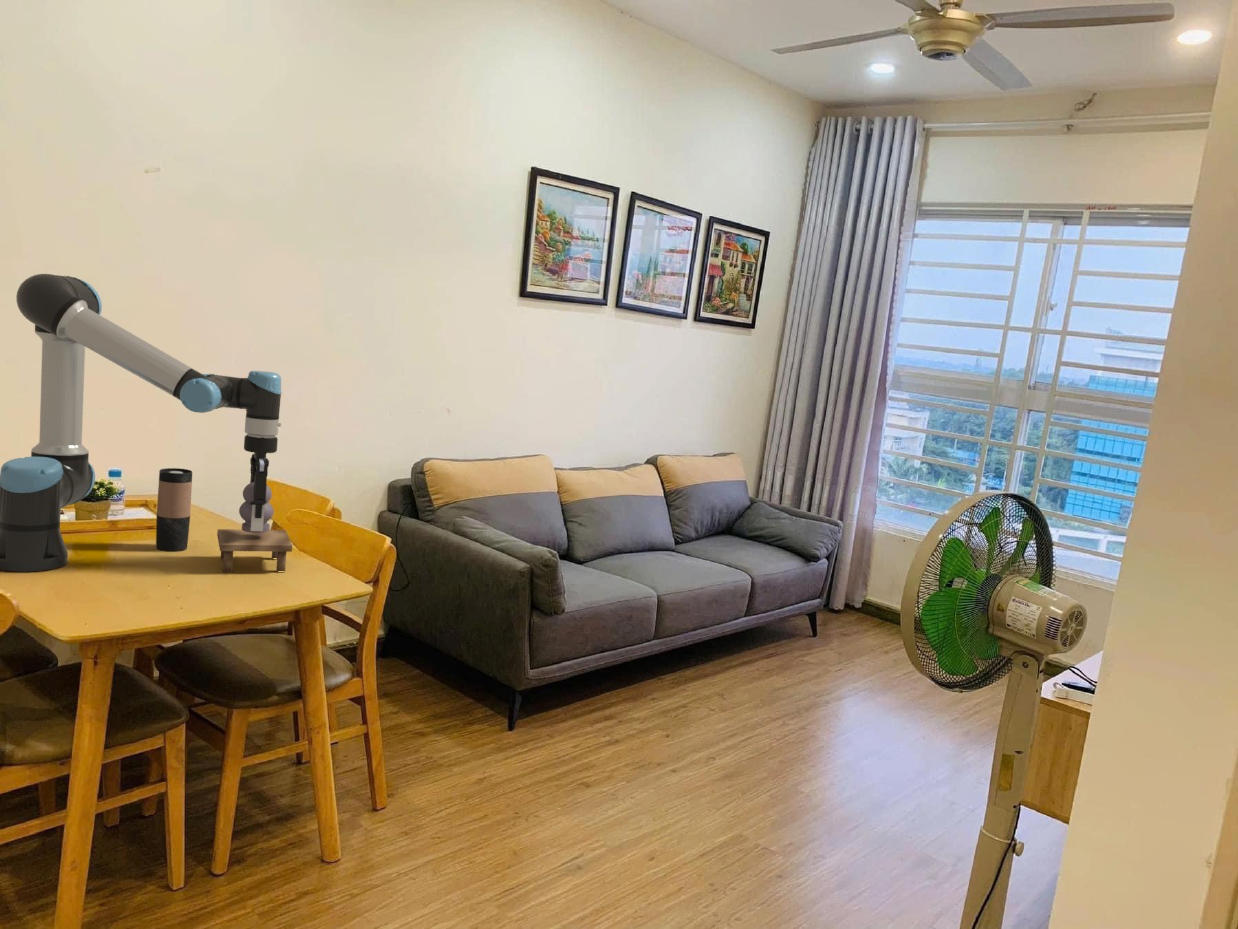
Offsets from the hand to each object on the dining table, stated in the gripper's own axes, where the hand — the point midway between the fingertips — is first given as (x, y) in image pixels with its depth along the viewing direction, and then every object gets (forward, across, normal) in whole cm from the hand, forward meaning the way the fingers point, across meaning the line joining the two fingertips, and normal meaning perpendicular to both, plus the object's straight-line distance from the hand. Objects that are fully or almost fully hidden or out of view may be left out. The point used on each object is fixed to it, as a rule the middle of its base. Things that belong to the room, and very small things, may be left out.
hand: (255, 526), depth 224 cm
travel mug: (+10, +16, +18) cm, 26 cm away
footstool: (+10, 0, 0) cm, 10 cm away
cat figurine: (+1, 0, 0) cm, 1 cm away
